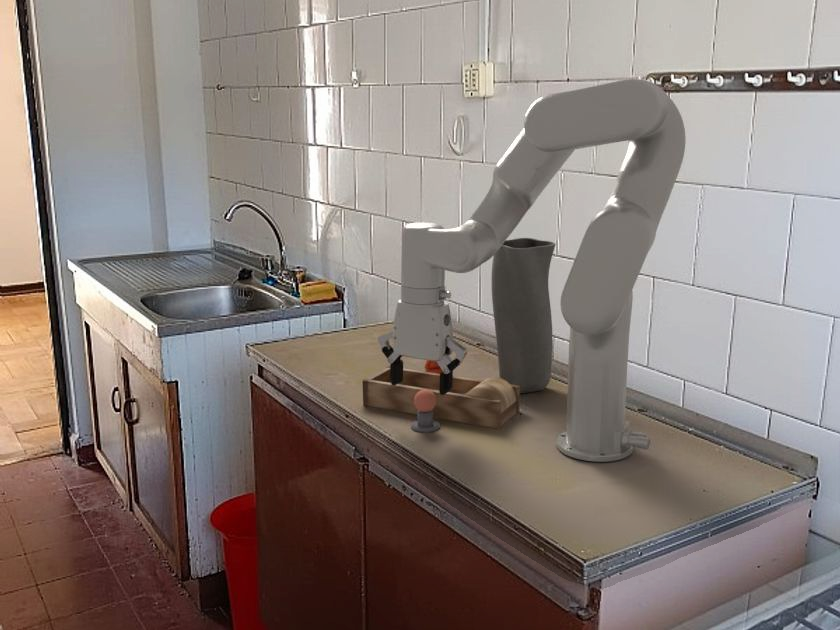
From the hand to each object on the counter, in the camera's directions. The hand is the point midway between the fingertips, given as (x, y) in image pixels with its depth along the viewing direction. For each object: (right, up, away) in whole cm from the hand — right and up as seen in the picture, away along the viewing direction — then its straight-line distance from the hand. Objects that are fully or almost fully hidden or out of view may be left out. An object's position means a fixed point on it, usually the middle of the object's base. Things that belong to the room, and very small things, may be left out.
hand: (420, 387), depth 154 cm
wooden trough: (+4, -6, +11) cm, 14 cm away
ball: (+1, -2, 0) cm, 2 cm away
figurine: (+4, -2, +23) cm, 24 cm away
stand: (+1, -7, +2) cm, 7 cm away
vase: (+21, -2, +21) cm, 29 cm away
